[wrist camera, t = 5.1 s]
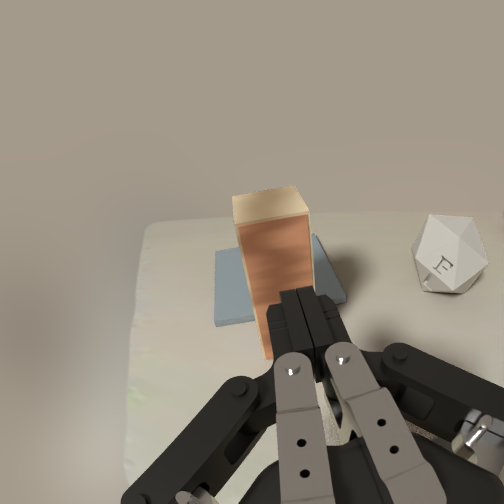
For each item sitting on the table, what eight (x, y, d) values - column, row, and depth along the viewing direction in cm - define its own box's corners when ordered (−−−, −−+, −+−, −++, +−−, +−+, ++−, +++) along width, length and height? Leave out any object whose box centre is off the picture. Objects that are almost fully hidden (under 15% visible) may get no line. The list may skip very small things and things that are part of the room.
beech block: (306, 313, 32) (294, 185, 25) (317, 350, 28) (309, 211, 21) (258, 323, 32) (232, 196, 25) (264, 360, 28) (234, 224, 21)
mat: (314, 238, 45) (314, 233, 44) (346, 301, 33) (346, 296, 32) (216, 256, 45) (215, 251, 44) (216, 326, 33) (214, 321, 32)
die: (393, 274, 36) (400, 244, 27) (433, 222, 36) (447, 181, 27) (443, 318, 32) (467, 302, 23) (482, 262, 32) (510, 231, 23)
